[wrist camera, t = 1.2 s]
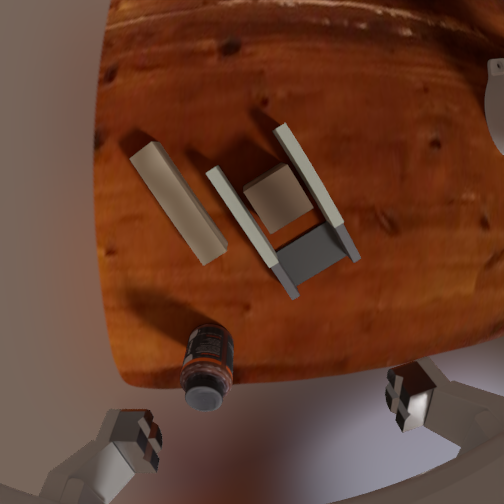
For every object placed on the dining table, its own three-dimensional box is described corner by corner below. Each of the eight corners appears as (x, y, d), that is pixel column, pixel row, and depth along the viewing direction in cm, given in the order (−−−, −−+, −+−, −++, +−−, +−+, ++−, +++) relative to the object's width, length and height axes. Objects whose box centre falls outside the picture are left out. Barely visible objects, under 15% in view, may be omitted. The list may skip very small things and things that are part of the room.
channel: (281, 125, 33) (285, 123, 30) (353, 249, 38) (363, 259, 34) (209, 171, 34) (205, 173, 31) (288, 289, 39) (292, 302, 36)
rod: (160, 142, 33) (151, 141, 30) (228, 241, 37) (226, 251, 34) (139, 157, 34) (129, 158, 30) (206, 255, 38) (203, 265, 34)
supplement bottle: (181, 328, 40) (165, 385, 30) (223, 316, 40) (218, 373, 29) (200, 362, 42) (190, 421, 32) (240, 351, 42) (240, 411, 31)
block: (281, 162, 34) (287, 164, 30) (304, 199, 36) (313, 207, 31) (243, 186, 35) (243, 192, 30) (267, 222, 36) (270, 234, 32)
